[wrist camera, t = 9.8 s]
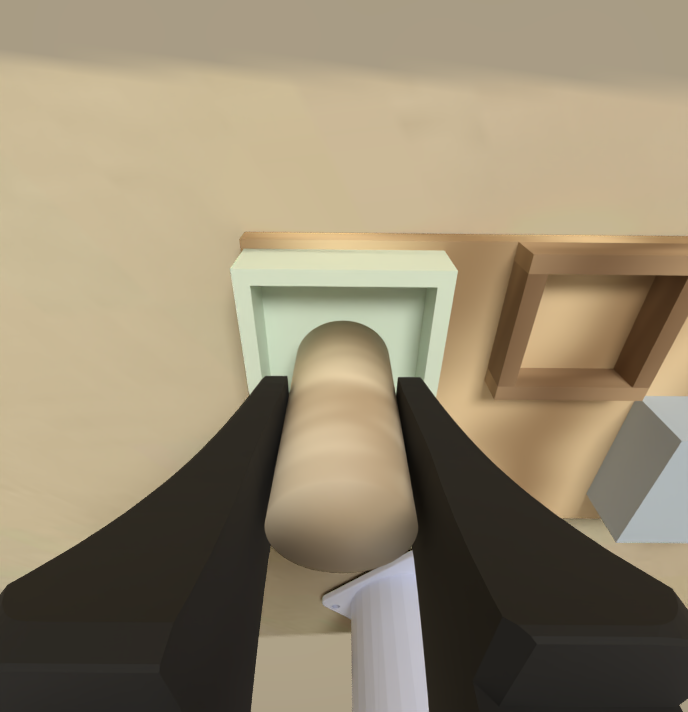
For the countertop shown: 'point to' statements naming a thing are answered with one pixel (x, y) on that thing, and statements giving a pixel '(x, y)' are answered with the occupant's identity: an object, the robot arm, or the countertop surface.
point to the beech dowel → (341, 457)
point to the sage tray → (343, 305)
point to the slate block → (646, 474)
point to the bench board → (548, 343)
